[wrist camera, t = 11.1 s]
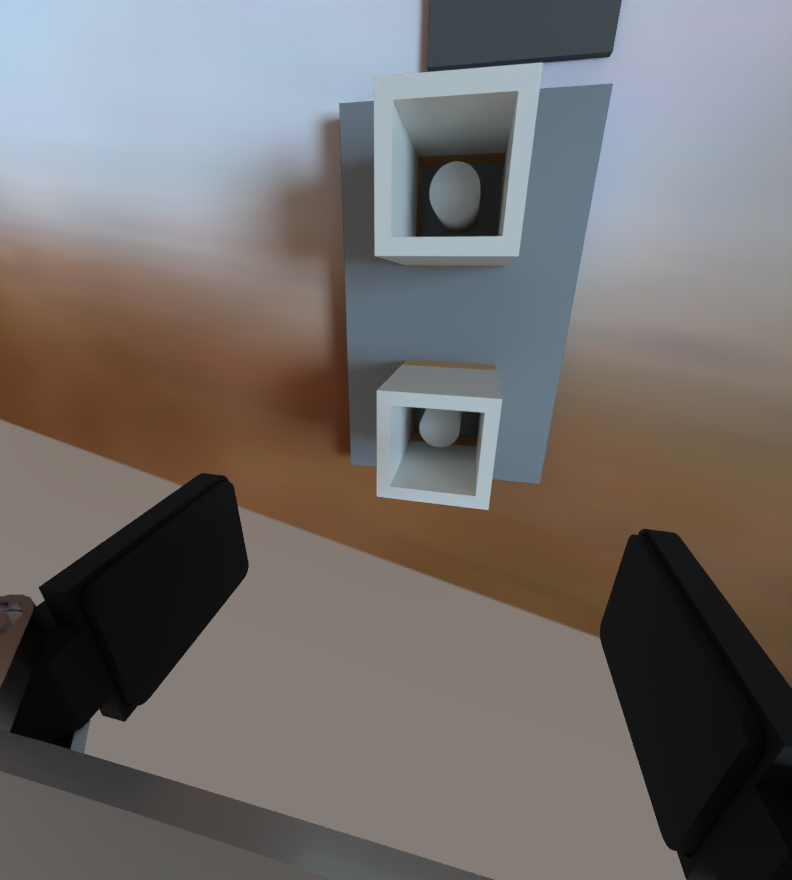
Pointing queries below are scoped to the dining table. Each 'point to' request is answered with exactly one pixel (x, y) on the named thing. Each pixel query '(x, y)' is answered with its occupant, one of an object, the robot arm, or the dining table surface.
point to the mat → (518, 32)
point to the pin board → (473, 280)
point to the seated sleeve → (451, 156)
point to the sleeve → (428, 467)
